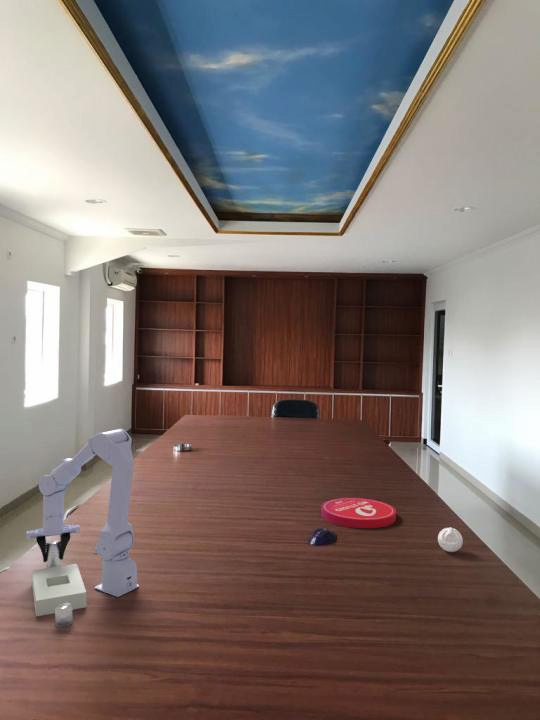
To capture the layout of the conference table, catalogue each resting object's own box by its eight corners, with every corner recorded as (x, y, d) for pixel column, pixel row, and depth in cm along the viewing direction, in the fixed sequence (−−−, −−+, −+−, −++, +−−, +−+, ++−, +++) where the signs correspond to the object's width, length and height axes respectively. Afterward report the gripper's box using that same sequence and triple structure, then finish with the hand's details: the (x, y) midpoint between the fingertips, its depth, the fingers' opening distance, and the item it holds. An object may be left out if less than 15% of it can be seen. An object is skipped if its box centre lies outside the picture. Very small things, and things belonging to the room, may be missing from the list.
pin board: (86, 607, 141) (86, 592, 141) (35, 616, 136) (35, 600, 136) (76, 577, 159) (76, 563, 159) (31, 584, 154) (32, 570, 154)
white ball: (437, 553, 183) (437, 530, 183) (438, 545, 190) (438, 523, 190) (462, 556, 181) (462, 533, 180) (462, 548, 188) (463, 526, 188)
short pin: (76, 621, 134) (75, 605, 134) (61, 629, 130) (61, 612, 130) (65, 617, 136) (65, 601, 136) (51, 624, 133) (51, 607, 132)
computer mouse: (298, 542, 192) (298, 531, 192) (322, 531, 203) (322, 521, 203) (319, 549, 186) (320, 537, 186) (343, 538, 197) (343, 527, 197)
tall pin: (63, 568, 162) (63, 542, 162) (51, 573, 159) (51, 546, 159) (54, 565, 165) (54, 539, 164) (42, 570, 161) (43, 543, 161)
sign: (306, 514, 224) (363, 534, 201) (306, 506, 224) (363, 525, 201) (353, 501, 244) (410, 518, 221) (353, 494, 244) (410, 510, 221)
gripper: (77, 507, 168) (77, 551, 169) (26, 513, 162) (25, 558, 162) (80, 514, 162) (80, 559, 162) (27, 520, 155) (26, 567, 156)
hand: (53, 559), depth 162 cm, fingers closed on tall pin, 4 cm apart
